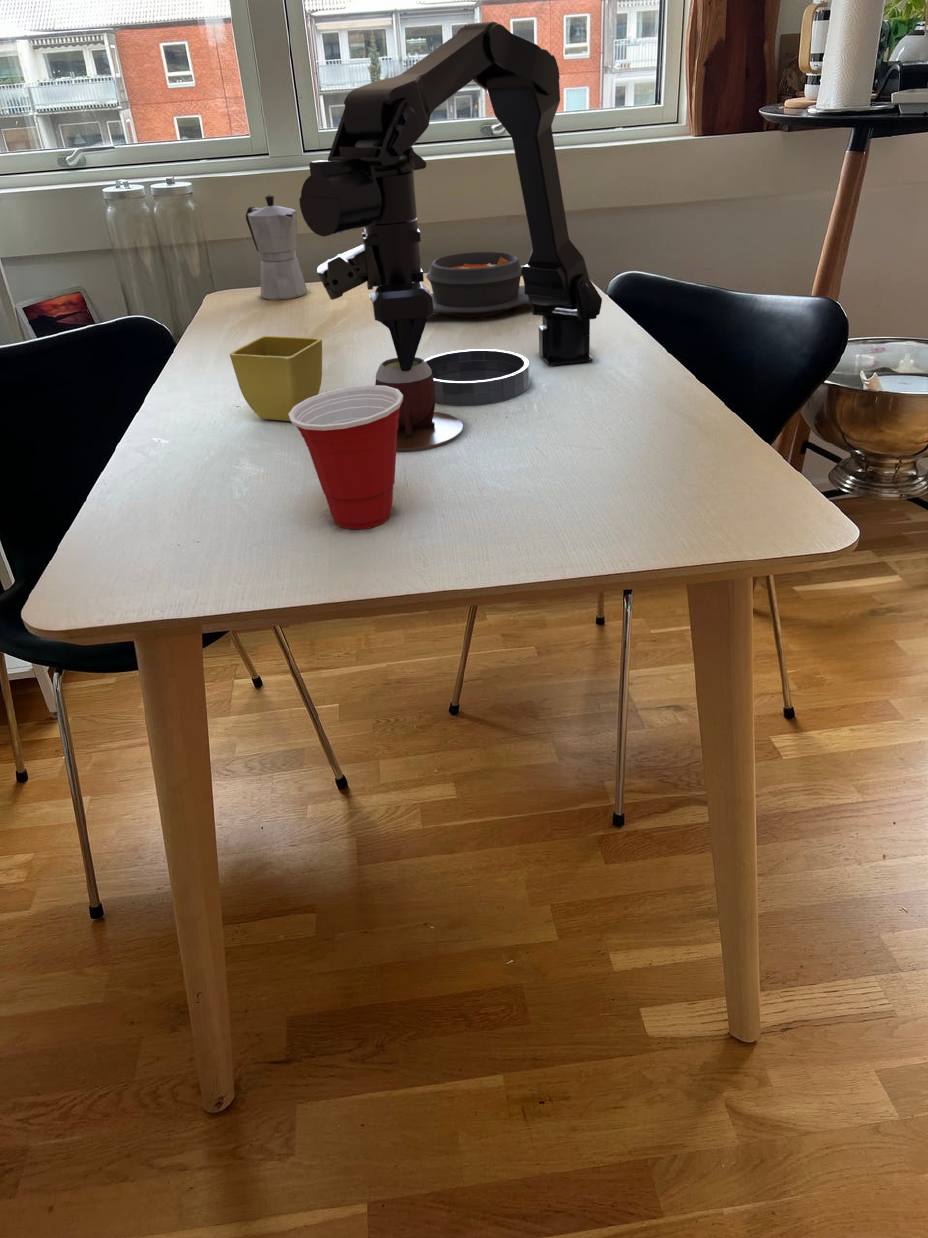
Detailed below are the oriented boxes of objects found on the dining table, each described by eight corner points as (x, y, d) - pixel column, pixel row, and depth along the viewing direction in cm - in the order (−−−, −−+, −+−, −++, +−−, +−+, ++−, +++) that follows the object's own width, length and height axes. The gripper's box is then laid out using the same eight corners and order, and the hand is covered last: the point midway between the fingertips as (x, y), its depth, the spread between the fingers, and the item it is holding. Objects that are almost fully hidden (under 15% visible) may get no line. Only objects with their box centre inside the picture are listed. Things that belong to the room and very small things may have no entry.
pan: (517, 366, 134) (517, 345, 132) (539, 398, 121) (539, 375, 119) (412, 376, 132) (410, 355, 131) (423, 410, 120) (421, 387, 118)
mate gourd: (381, 421, 116) (366, 296, 108) (444, 416, 116) (434, 291, 108) (378, 441, 109) (363, 310, 102) (446, 436, 109) (435, 304, 102)
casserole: (531, 291, 173) (530, 244, 169) (560, 314, 158) (560, 262, 153) (398, 305, 170) (394, 257, 165) (415, 330, 154) (411, 277, 150)
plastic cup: (308, 500, 97) (291, 387, 91) (412, 491, 98) (401, 378, 92) (302, 546, 88) (281, 424, 82) (416, 536, 88) (404, 414, 82)
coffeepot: (323, 293, 182) (310, 193, 173) (283, 303, 177) (268, 200, 168) (278, 284, 192) (263, 189, 183) (239, 293, 187) (222, 196, 177)
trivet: (455, 409, 119) (455, 406, 119) (470, 445, 108) (470, 442, 108) (354, 419, 118) (353, 416, 118) (358, 456, 107) (357, 453, 107)
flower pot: (332, 405, 123) (323, 337, 119) (302, 428, 116) (291, 356, 112) (274, 402, 126) (262, 335, 121) (240, 424, 119) (227, 353, 114)
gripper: (315, 213, 108) (333, 349, 116) (316, 241, 92) (336, 395, 100) (411, 206, 109) (422, 340, 117) (428, 231, 93) (439, 385, 101)
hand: (404, 363), depth 109 cm, fingers closed on mate gourd, 5 cm apart
